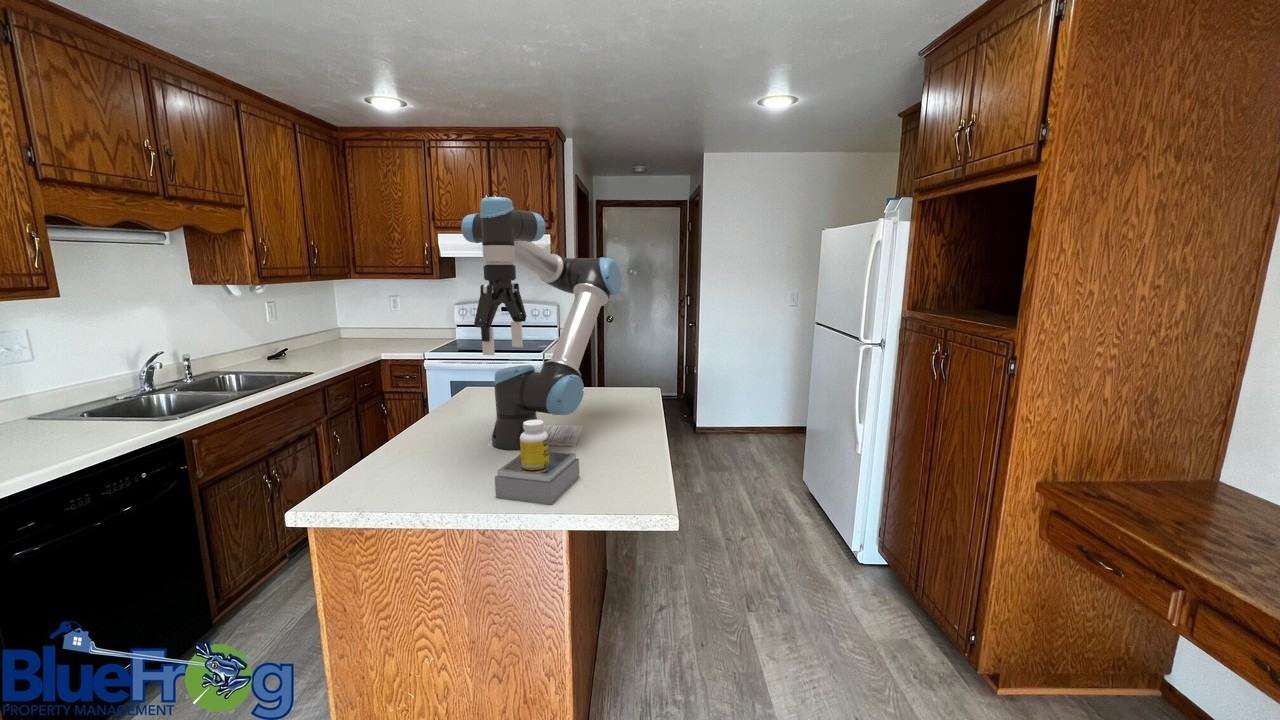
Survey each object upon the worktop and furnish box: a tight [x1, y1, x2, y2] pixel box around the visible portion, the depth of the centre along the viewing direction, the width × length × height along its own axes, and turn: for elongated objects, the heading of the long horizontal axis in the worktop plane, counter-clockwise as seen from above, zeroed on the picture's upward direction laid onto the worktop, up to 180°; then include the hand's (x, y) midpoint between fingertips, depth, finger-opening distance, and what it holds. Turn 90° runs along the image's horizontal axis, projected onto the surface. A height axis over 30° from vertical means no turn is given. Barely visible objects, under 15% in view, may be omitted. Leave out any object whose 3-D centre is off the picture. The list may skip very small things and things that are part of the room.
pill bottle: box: [519, 419, 550, 473], centre depth 122 cm, size 6×6×12 cm
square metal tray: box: [494, 450, 580, 506], centre depth 126 cm, size 16×16×6 cm
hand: (503, 350), depth 130 cm, fingers open, 13 cm apart
